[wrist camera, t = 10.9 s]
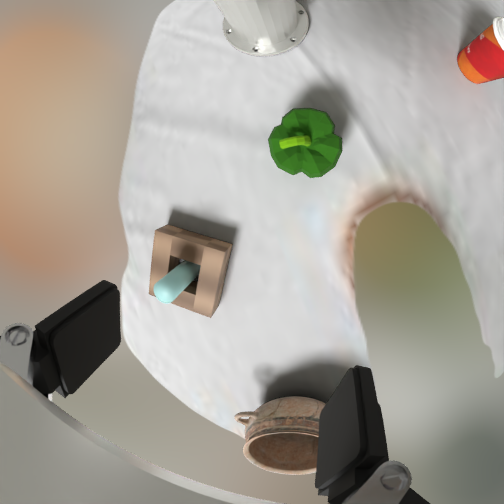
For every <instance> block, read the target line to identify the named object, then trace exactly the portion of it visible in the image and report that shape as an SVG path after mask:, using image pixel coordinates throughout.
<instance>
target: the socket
mask: <svg viewBox="0 0 504 504" xmlns="http://www.w3.org/2000/svg"><path fill="white" fill-rule="evenodd" d="M232 245H233V244H231V243H227V242H224V241H221V240H217V239H214V238H211V237H208V236H204V235H201V234H198V233H194V232H191V231H188V230H184V229H181V228H178V227H175V226H171V225H166V226H163V227H161V228H159V229H157V230H155V235H154V244H153V252H152V262H151V273H150V285H149V294H150V295H152V296H155V294H154V285H155V284H156V283H157V282H158V281H159V280H160V279H162V278H163V277H164V276H165V275H167V274H168V273H169V272H170V271H171V270H173V269H174V268H175V267H176V266H178V265H179V260H180V259H183V260H186V261H189V262H192V263H195V264H198V265H201V267H200V273H199V278H198V282H196V281H192V282H191V283H190V284H189V285H188V286H187V287H186V288H185V289H184V290H183V291H182V292H181V293H180V294H179V295H178V296H177V297H176V298H175V299H174V300H173V301H172V302H171V303H172V304H175V305H177V306H180V307H183V308H185V309H188V310H191V311H193V312H196V313H199V314H202V315H204V316H207V317H210V318H211V317H212V315H213V314H214V312H215V311H216V309H217V307H218V306H219V302H220V297H221V293H222V288H223V284H224V280H225V275H226V271H227V266H228V262H229V258H230V253H231V249H232ZM155 297H156V296H155Z"/></svg>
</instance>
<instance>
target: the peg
mask: <svg viewBox="0 0 504 504" xmlns="http://www.w3.org/2000/svg"><path fill="white" fill-rule="evenodd" d="M200 267H201V265H198V264H195V263H192V262H189V261H186V260H184V261H183V262H181V263H180V264H179V265H178V266H176V267H175V268H174V269H173V270H171V271H170V272H169V273H168V274H167V275H165V276H164V277H163V278H162V279H160V280H159V281H158V282H157V283H156V284H155V285H154V294H155V296H156V298H157V299H158V300H159V301H161V302H163V303H171V302H172V301H173V300H174V299H175V298H176V297H177V296H178V295H179V294H180V293H181V292H182V291H183V290H184V289H185V288H186V287H187V286H188V285H189V284H190V283H191V282H192V281H193V280H194V279H195V278H196V277H197V276H198V275H199V273H200Z"/></svg>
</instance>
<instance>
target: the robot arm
mask: <svg viewBox="0 0 504 504" xmlns="http://www.w3.org/2000/svg"><path fill="white" fill-rule="evenodd" d="M213 1H214V2H215V4H216V5H217V7H218V8H219V9H220V11H221V12H222V14H223V15H224V20H223V32H224V35H225V37H226V39H227V40H228V41H229V43H230V44H231V45H232V46H233V47H234V48H236V49H237V50H239V51H241V52H243V53H246V54H249V55H254V56H274V55H278V54H282V53H285V52H287V51H289V50H291V49H293V48H294V47H296V46H297V45H298V44H299V43H300V42H302V40H303V39H304V37H305V36H306V34H307V31H308V26H309V21H308V16H307V13H306V11H305V9H304V8H303V7H302V5H301V4H300V3H298V2H297V1H296V0H213ZM229 33H230V34H229ZM292 41H295V42H292ZM256 50H258V51H257V52H255V51H256ZM35 328H36V330H35V331H32V329H31V328H30V327H29V326H28V325H26V324H22V323H15V324H12V325H10V326H8V327H7V328H6V329H5V330H4V331H3V333H2V335H1V336H0V504H285V503H278V502H273V501H268V500H262V499H257V498H253V497H248V496H244V495H240V494H237V493H232V492H229V491H226V490H222V489H219V488H215V487H212V486H209V485H206V484H203V483H200V482H197V481H194V480H191V479H189V478H186V477H183V476H181V475H178V474H176V473H173V472H171V471H168V470H166V469H163V468H161V467H159V466H157V465H155V464H152V463H150V462H148V461H146V460H144V459H142V458H140V457H138V456H136V455H134V454H132V453H130V452H128V451H126V450H125V449H123V448H121V447H119V446H117V445H115V444H113V443H112V442H110V441H109V440H107V439H105V438H104V437H102V436H100V435H99V434H97V433H95V432H94V431H92V430H91V429H89V428H87V427H86V426H85V425H83V424H82V423H80V422H79V421H77V420H76V419H74V418H73V417H72V416H70V415H69V414H67V413H66V412H65V411H63V410H62V409H61V408H59V407H58V406H57V405H55V404H54V403H53V402H52V393H53V392H54V391H55V390H56V391H57V392H58V393H59V394H60V395H62V396H63V397H64V398H66V397H67V396H68V395H69V394H73V393H74V392H75V391H76V390H77V389H78V388H79V387H80V386H81V385H82V384H83V383H84V382H85V380H87V379H88V378H89V377H90V375H91V374H92V373H93V372H94V371H95V370H96V369H97V368H98V367H99V366H100V365H101V364H102V363H103V362H104V361H105V360H106V359H107V358H108V357H109V356H110V355H111V354H112V353H113V352H114V351H115V350H116V349H117V348H118V346H119V345H120V342H121V334H120V293H119V290H117V286H116V285H115V284H113V283H110V282H108V281H106V280H103V281H101V282H99V283H98V284H96V285H95V286H93V287H92V288H90V289H88V290H87V291H85V292H84V293H83V294H81V295H79V296H78V297H76V298H75V299H73V300H72V301H70V302H69V303H67V304H66V305H64V306H63V307H61V308H60V309H58V310H57V311H56V312H54V313H53V314H51V315H50V316H48V317H47V318H45V319H44V320H42V321H41V322H40V323H38V324H37V325H35ZM411 480H412V477H411V473H410V471H409V469H408V468H407V467H406V466H405V465H404V464H402V463H401V462H398V461H389V458H388V450H387V443H386V436H385V430H384V424H383V418H382V413H381V407H380V405H379V404H378V401H377V396H376V391H375V386H374V381H373V376H372V372H371V369H370V368H367V367H362V366H358V365H357V366H355V367H354V368H350V369H349V370H348V371H347V373H346V375H345V376H344V378H343V379H342V381H341V382H340V384H339V386H338V387H337V389H336V390H335V392H334V393H333V395H332V396H331V398H330V399H329V401H328V402H327V403H326V405H325V406H324V408H323V409H322V411H321V413H320V417H319V436H318V453H317V467H316V479H315V487H316V488H319V490H318V495H324V496H328V502H329V503H328V504H430V503H429V502H427V501H426V500H425V499H423V498H422V497H421V496H420V495H419V494H417V493H416V492H415V491H414V490H412V489H411V488H410V485H411Z"/></svg>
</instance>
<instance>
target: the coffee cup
mask: <svg viewBox="0 0 504 504" xmlns="http://www.w3.org/2000/svg"><path fill="white" fill-rule="evenodd" d="M457 62H458V65H459V68H460V70H461V72H462V73H463V74H464V76H465V77H466V78H467V79H468V80H470V81H471V82H473V83H476V84H480V83H485V82H489V81H492V80H496V79H500V78H504V17H503V18H502V17H496V18H495V19H494V20H493V24H492V25H491V26H490V27H488V28H487V29H486V30H485V31H484V32H482V33H481V34H480V35H479V36H478V37H477V38H476V39H474V40H473V41H472V42H471V43H470V44H469V45H468V46H466V47H465V48H464V49H463V50H462V51H461V52H460V53H459V54H458V57H457Z"/></svg>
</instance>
